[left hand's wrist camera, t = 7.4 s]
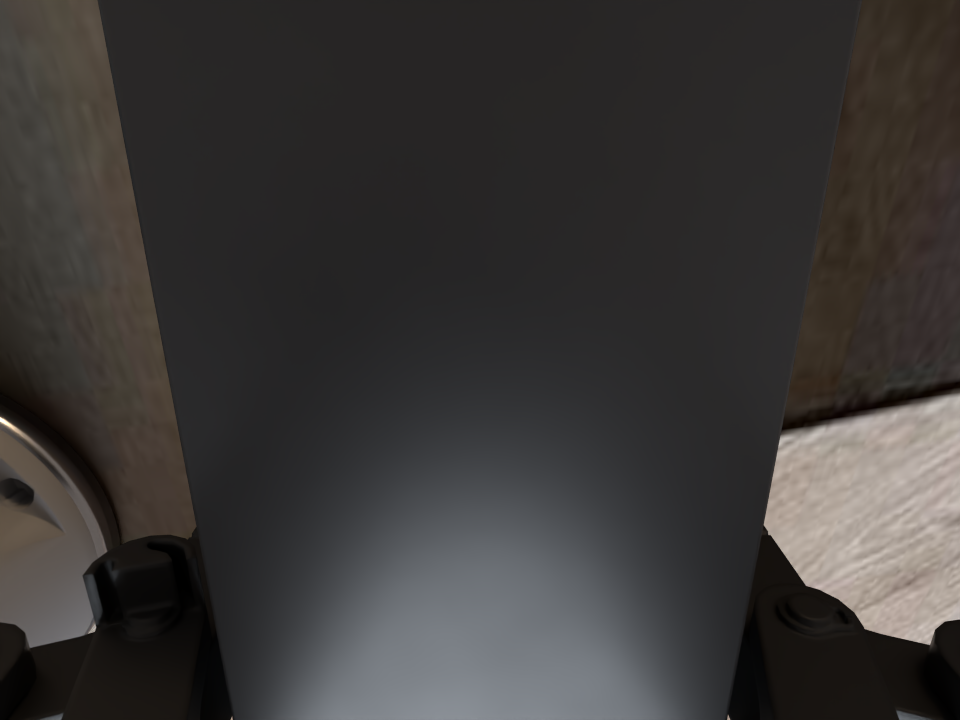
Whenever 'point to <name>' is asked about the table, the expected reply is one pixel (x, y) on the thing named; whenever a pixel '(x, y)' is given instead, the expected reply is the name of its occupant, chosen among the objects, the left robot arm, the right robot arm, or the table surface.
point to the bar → (479, 334)
